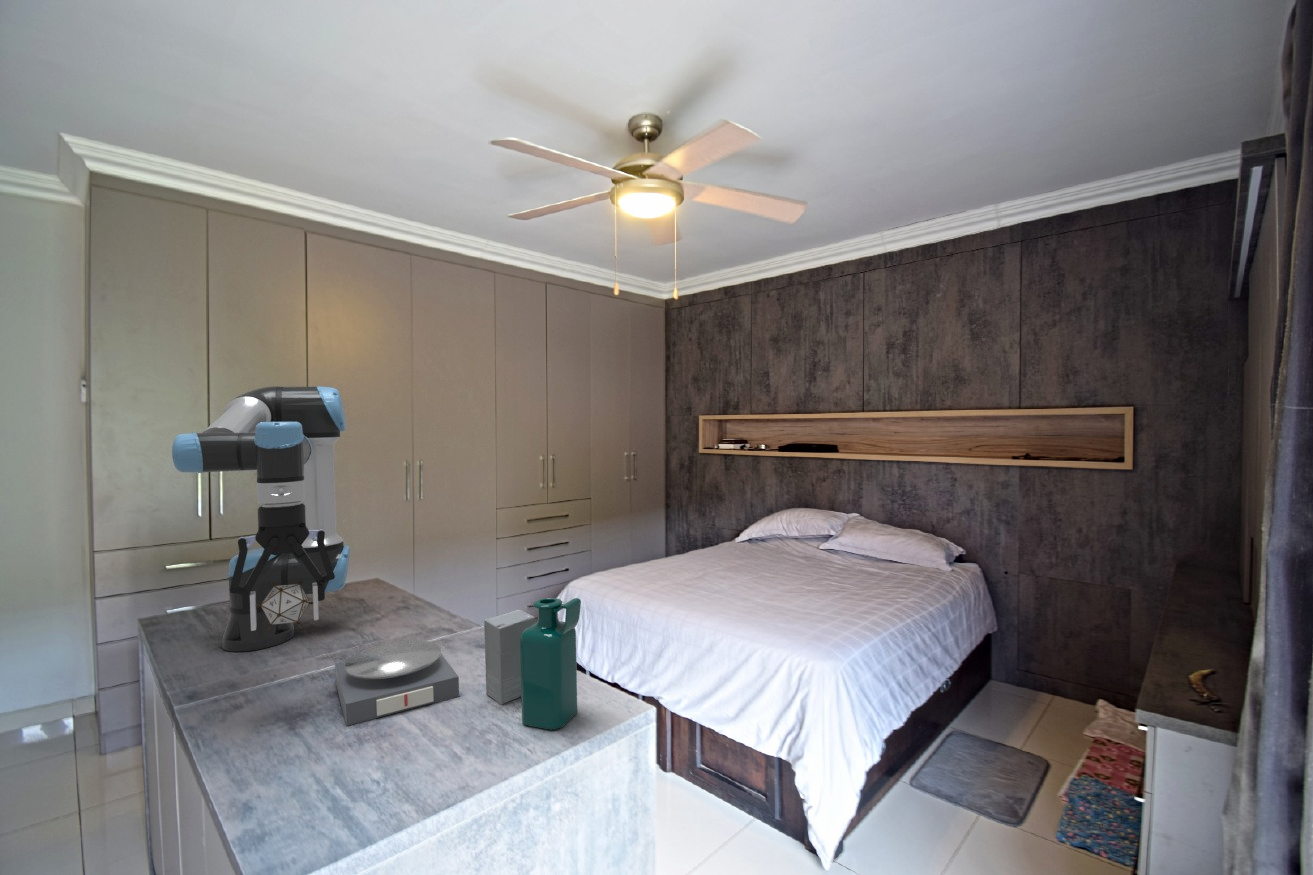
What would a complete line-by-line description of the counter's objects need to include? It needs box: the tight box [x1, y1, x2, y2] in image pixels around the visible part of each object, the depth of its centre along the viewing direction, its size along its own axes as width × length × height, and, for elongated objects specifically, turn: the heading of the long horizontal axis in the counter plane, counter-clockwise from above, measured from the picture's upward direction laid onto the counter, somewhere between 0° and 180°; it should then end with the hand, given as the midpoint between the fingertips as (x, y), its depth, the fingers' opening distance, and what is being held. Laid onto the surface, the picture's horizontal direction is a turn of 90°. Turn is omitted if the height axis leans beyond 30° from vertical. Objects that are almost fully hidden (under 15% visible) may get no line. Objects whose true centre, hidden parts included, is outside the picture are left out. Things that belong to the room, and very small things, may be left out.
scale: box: [334, 653, 460, 727], centre depth 121 cm, size 23×20×4 cm
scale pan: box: [345, 639, 442, 679], centre depth 121 cm, size 18×18×2 cm
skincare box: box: [483, 608, 536, 705], centre depth 118 cm, size 8×7×16 cm
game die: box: [255, 580, 313, 629], centre depth 111 cm, size 9×8×10 cm
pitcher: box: [520, 597, 582, 731], centre depth 108 cm, size 10×8×22 cm
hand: (285, 623), depth 111 cm, fingers closed on game die, 9 cm apart
